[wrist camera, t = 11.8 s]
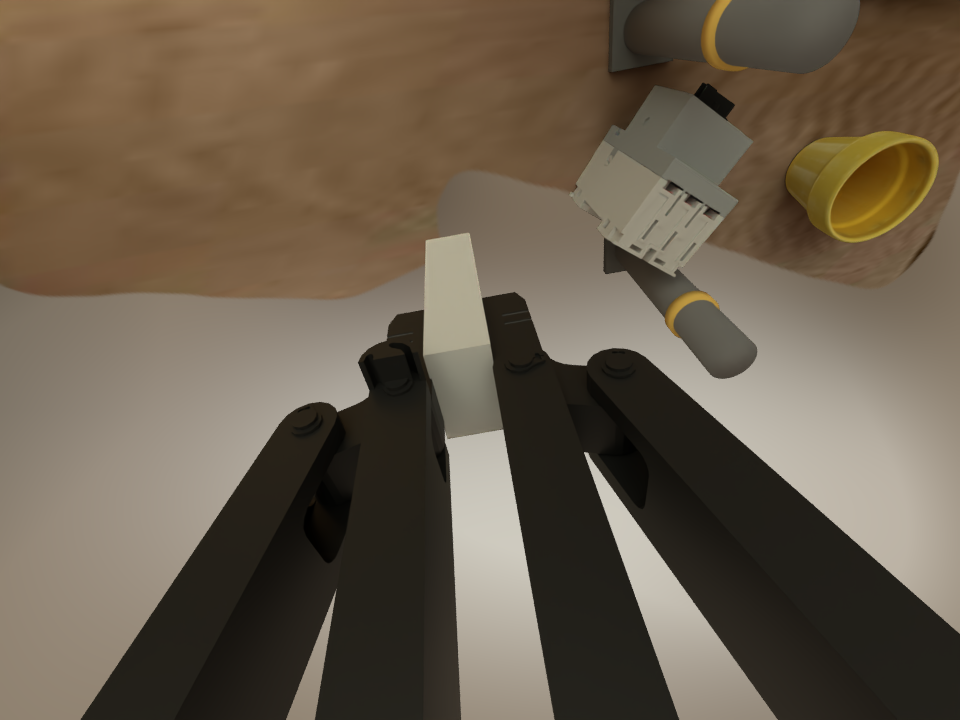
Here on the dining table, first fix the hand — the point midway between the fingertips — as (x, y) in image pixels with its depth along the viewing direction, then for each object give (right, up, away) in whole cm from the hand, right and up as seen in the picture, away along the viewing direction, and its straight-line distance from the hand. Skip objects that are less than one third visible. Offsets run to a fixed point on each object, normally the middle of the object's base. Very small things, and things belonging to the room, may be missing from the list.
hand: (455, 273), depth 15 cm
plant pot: (+40, +19, +36) cm, 57 cm away
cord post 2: (+19, +11, +39) cm, 45 cm away
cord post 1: (+16, +29, +26) cm, 42 cm away
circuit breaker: (+18, +20, +33) cm, 42 cm away
